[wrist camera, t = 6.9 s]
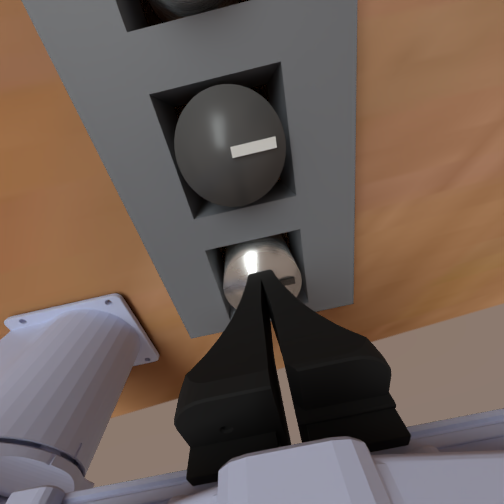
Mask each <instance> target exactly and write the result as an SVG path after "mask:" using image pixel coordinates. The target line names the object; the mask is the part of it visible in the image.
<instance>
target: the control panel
mask: <svg viewBox="0 0 504 504" xmlns="http://www.w3.org/2000/svg"><path fill="white" fill-rule="evenodd" d="M22 2H23V4H24V6H25V8H26V10H27V12H28V14H29V16H30V18H31V20H32V22H33V24H34V26H35V28H36V30H37V32H38V34H39V36H40V38H41V40H42V42H43V44H44V46H45V48H46V50H47V52H48V54H49V56H50V58H51V60H52V62H53V64H54V66H55V68H56V70H57V72H58V74H59V76H60V78H61V80H62V82H63V84H64V86H65V88H66V90H67V92H68V94H69V96H70V98H71V100H72V102H73V104H74V106H75V108H76V110H77V112H78V114H79V116H80V118H81V120H82V122H83V124H84V126H85V128H86V130H87V132H88V134H89V136H90V138H91V140H92V142H93V144H94V146H95V148H96V150H97V152H98V154H99V156H100V158H101V160H102V162H103V164H104V166H105V168H106V170H107V172H108V174H109V176H110V178H111V180H112V182H113V184H114V186H115V188H116V190H117V192H118V194H119V196H120V198H121V200H122V202H123V204H124V206H125V208H126V210H127V212H128V214H129V216H130V218H131V220H132V222H133V224H134V226H135V228H136V230H137V232H138V234H139V236H140V238H141V240H142V242H143V244H144V246H145V248H146V250H147V252H148V254H149V256H150V258H151V260H152V262H153V264H154V266H155V268H156V270H157V272H158V274H159V276H160V278H161V280H162V282H163V284H164V285H165V287H166V289H167V291H168V293H169V295H170V297H171V299H172V301H173V303H174V305H175V307H176V309H177V311H178V313H179V315H180V317H181V319H182V321H183V323H184V325H185V327H186V329H187V331H188V333H189V335H190V337H191V338H196V337H200V336H205V335H210V334H214V333H219V332H224V330H225V329H226V327H227V325H228V324H229V322H230V320H231V319H232V317H233V315H234V313H235V311H236V309H235V308H234V307H233V306H232V305H231V304H230V303H229V302H228V300H227V299H226V297H225V294H224V289H223V283H224V267H225V265H224V262H223V259H222V256H221V253H220V250H219V247H223V246H228V245H232V244H237V243H241V242H245V241H250V240H254V239H259V238H263V237H267V236H272V235H276V234H281V233H285V232H288V235H289V242H290V249H291V254H292V256H293V258H294V260H295V263H296V265H297V267H298V269H299V271H300V273H301V278H302V283H301V289H300V292H299V294H298V296H297V297H296V298H297V299H299V300H300V301H301V302H302V303H303V304H305V305H306V306H307V307H309V308H310V309H312V310H313V311H314V312H317V311H322V310H326V309H331V308H336V307H340V306H345V305H350V304H353V294H354V218H355V142H356V67H357V0H250V1H246V2H242V3H238V4H234V5H231V6H227V7H223V8H219V9H215V10H211V11H208V12H204V13H200V14H196V15H192V16H188V17H184V18H181V19H177V20H173V21H169V22H165V23H161V24H158V25H154V26H150V27H148V25H147V22H146V19H145V16H144V12H143V9H142V6H141V3H140V0H22ZM221 84H235V85H241V86H244V87H247V88H252V87H256V86H260V85H264V84H267V90H268V97H269V103H270V105H271V106H272V107H273V109H274V110H275V112H276V113H277V115H278V117H279V119H280V121H281V123H282V126H283V130H284V134H285V139H286V156H285V162H284V166H283V169H282V172H281V174H280V180H281V181H279V182H276V183H275V185H274V186H273V187H272V189H271V190H270V191H269V192H268V193H267V194H265V195H264V196H263V197H262V198H260V199H258V200H257V201H255V202H253V203H250V204H247V205H244V206H238V207H228V206H221V205H217V204H214V203H212V202H210V201H208V200H206V199H203V197H201V196H200V195H199V194H197V193H196V192H195V191H194V190H193V189H192V188H191V187H190V186H189V184H188V183H187V182H186V180H185V179H184V177H183V175H182V173H181V171H180V169H179V166H178V163H177V160H176V156H175V149H174V138H175V130H176V126H177V122H178V118H177V115H176V112H175V109H174V107H175V106H179V105H184V104H188V102H189V101H190V100H191V99H192V98H193V97H194V96H196V95H197V94H198V93H200V92H201V91H203V90H205V89H207V88H209V87H212V86H215V85H221ZM270 321H271V318H270Z"/></svg>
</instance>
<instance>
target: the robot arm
mask: <svg viewBox="0 0 504 504" xmlns="http://www.w3.org/2000/svg"><path fill="white" fill-rule="evenodd" d="M108 300H110V301H111V302H110V301H108ZM270 318H271V321H272V324H273V328H274V331H275V334H276V337H277V340H278V343H279V346H280V349H281V353H282V356H283V360H284V364H285V369H286V373H287V378H288V382H289V387H290V391H291V395H292V400H293V405H294V409H295V413H296V418H297V422H298V427H299V431H300V436H301V440H302V443H299V444H294V445H291V442H290V436H289V431H288V426H287V421H286V416H285V411H284V406H283V401H282V396H281V391H280V386H279V381H278V375H277V370H276V365H275V359H274V352H273V342H272V332H271V323H270ZM4 324H5V325H6V326H7V327H8V328H9V329H10V330H11V331H10V332H9V333H8V334H7V335H6V336H4V337H3V338H2V339H1V340H0V504H504V408H502V409H497V410H492V411H487V412H481V413H476V414H471V415H466V416H461V417H456V418H451V419H446V420H440V421H435V422H430V423H425V424H420V425H415V426H409V427H406V426H405V424H404V423H403V421H402V420H401V418H400V416H399V414H398V413H397V411H396V409H395V408H396V404H395V402H394V400H393V398H392V397H391V395H390V393H389V387H390V380H391V369H390V367H389V365H388V363H387V362H386V360H385V358H384V357H383V356H382V354H381V353H380V352H379V351H378V350H377V349H376V347H375V346H374V345H373V344H372V343H371V342H370V341H369V340H368V339H367V338H366V337H364V336H362V335H359V334H357V333H354V332H352V331H350V330H347V329H345V328H343V327H341V326H339V325H337V324H335V323H333V322H331V321H329V320H328V319H326V318H324V317H322V316H321V315H319V314H317V313H316V312H314V311H313V310H312V309H310V308H309V307H307V306H306V305H305V304H303V303H302V302H301V301H300V300H299V299H297V298H296V297H295V296H294V295H293V294H292V293H291V292H290V291H289V290H288V289H287V288H286V287H285V286H284V285H283V284H282V283H281V282H280V280H279V279H278V278H277V277H276V275H275V274H274V272H273V271H272V270H267V271H262V272H258V273H253V274H249V275H248V277H247V282H246V286H245V289H244V292H243V295H242V297H241V300H240V302H239V304H238V307H237V309H236V311H235V313H234V315H233V317H232V319H231V320H230V322H229V324H228V325H227V327H226V329H225V330H224V332H223V333H222V335H221V336H220V337H219V339H218V340H217V342H216V343H215V344H214V345H213V346H212V348H211V349H210V350H209V351H208V353H207V354H206V355H205V356H204V357H203V358H202V359H201V360H200V361H199V362H198V363H197V364H196V365H195V366H194V367H193V369H192V370H191V371H190V372H188V373H187V374H186V376H185V379H184V382H183V385H182V388H181V391H180V394H179V399H178V403H177V408H176V413H175V418H174V425H175V427H176V429H177V430H178V432H179V433H180V434H181V436H182V437H183V438H184V440H185V441H186V442H187V443H188V445H189V446H190V453H189V461H188V468H187V470H182V471H177V472H172V473H167V474H162V475H157V476H151V477H147V478H142V479H136V480H131V481H126V482H121V483H115V484H110V485H106V486H100V487H95V488H93V486H94V483H93V482H90V481H88V480H87V479H85V478H84V477H85V475H86V472H87V470H88V468H89V465H90V463H91V461H92V459H93V456H94V454H95V452H96V449H97V447H98V445H99V443H100V440H101V438H102V436H103V433H104V431H105V429H106V427H107V424H108V422H109V420H110V417H111V415H112V413H113V411H114V408H115V406H116V404H117V401H118V399H119V397H120V394H121V392H122V390H123V388H124V385H125V383H126V381H127V378H128V376H129V374H130V372H131V369H132V367H133V366H136V365H141V364H146V363H150V362H155V361H157V360H158V359H159V353H158V352H157V350H156V348H155V347H154V345H153V344H152V342H151V341H150V339H149V337H148V336H147V334H146V333H145V331H144V330H143V328H142V326H141V325H140V323H139V322H138V320H137V319H136V317H135V315H134V314H133V312H132V311H131V309H130V308H129V306H128V304H127V303H126V301H125V300H124V298H123V297H122V296H121V295H120V294H117V293H115V294H109V295H105V296H100V297H96V298H92V299H87V300H83V301H78V302H74V303H69V304H65V305H60V306H56V307H51V308H47V309H42V310H38V311H33V312H29V313H24V314H20V315H15V316H11V317H8V318H7V319H6V320H5V321H4Z"/></svg>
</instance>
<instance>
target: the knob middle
mask: <svg viewBox="0 0 504 504" xmlns="http://www.w3.org/2000/svg"><path fill="white" fill-rule="evenodd" d="M174 149H175V156H176V160H177V163H178V166H179V169H180V171H181V173H182V175H183V177H184V179H185V180H186V182H187V183H188V184H189V186H190V187H191V188H192V189H193V190H194V191H195V192H196V193H197V194H199V195H200V196H201V197H203V198H204V199H206V200H208V201H210V202H212V203H214V204H217V205H221V206H228V207H238V206H244V205H247V204H250V203H253V202H255V201H257V200H258V199H260V198H262V197H263V196H264V195H265V194H267V193H268V192H269V191H270V190H271V189H272V187H273V186H274V185H275V183H276V182H277V180H278V178H279V177H280V174H281V172H282V169H283V166H284V162H285V156H286V139H285V134H284V130H283V126H282V123H281V121H280V119H279V117H278V115H277V113H276V112H275V110H274V109H273V107H272V106H271V105H270V104H269V102H268V101H267V100H265V99H264V98H263V97H262V96H261V95H259V94H258V93H257V92H255V91H253V90H251V89H249V88H247V87H244V86H241V85H235V84H221V85H215V86H212V87H209V88H207V89H205V90H203V91H201V92H200V93H198V94H197V95H196V96H194V97H193V98H192V99H191V100H190V101H189V102H188V104H187V105H186V107H185V108H184V109H183V111H182V113H181V115H180V117H179V120H178V122H177V126H176V130H175V138H174Z"/></svg>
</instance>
